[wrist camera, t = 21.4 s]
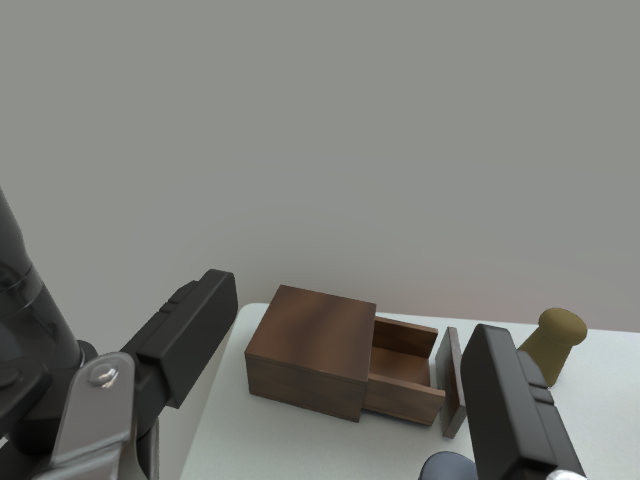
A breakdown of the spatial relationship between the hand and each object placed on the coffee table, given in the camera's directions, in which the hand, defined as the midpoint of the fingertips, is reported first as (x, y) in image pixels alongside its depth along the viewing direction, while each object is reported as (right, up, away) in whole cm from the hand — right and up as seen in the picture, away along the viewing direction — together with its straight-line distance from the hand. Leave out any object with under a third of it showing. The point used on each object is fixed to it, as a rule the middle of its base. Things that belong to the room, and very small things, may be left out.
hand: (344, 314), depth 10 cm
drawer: (+12, -18, +32) cm, 38 cm away
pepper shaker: (+31, -17, +36) cm, 51 cm away
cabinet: (-2, -16, +34) cm, 38 cm away
